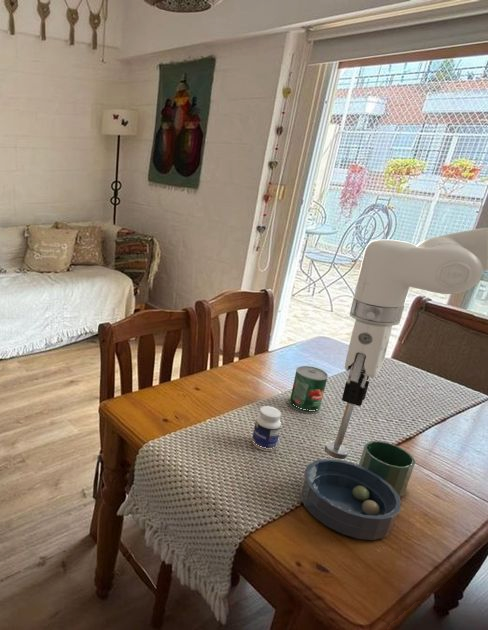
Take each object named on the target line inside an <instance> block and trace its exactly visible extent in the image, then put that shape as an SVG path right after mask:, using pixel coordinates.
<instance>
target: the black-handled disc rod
mask: <svg viewBox="0 0 488 630" xmlns="http://www.w3.org/2000/svg"><path fill="white" fill-rule="evenodd" d="M360 377H362V379H363V376H361V375H360ZM354 407H355V405H354V404H351V403H348V402H346V405H345V409H344V412H343V415H342V417H341V420H340V421H341V422H340V424H339V427H338V431H337V434H336V437H335V441H327V442H326V443H325V445H324V451H325V453H326V454H327V455H328V456H330V457H332V458H333V459H337V460H343V459H346V458H347V456H348V455H349V449H348V448H347V446H346V445H344V444H343V441H344V439H345V435H346V432H347V429H348V426H349V423H350V421H351V417H352V414H353V410H354Z"/></svg>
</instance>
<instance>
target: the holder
mask: <svg viewBox="0 0 488 630" xmlns="http://www.w3.org/2000/svg"><path fill="white" fill-rule="evenodd" d="M358 465H359V466H361V467H364V468H366V469H368V470H370V471H372V472H373V473H375V474H377V475H379V476H380V477H381V478H383V479H384V480H385V481H386V482H388V483H389V484H390V485H391V486H392V487H393V488H394V490H395V491H396V492H397V494H398V495H399V498H402V497H403V496H404V494H405V493H406V490H407V487H408V484H409V481H410V479H411V477H412V473H413V470H414V467H415V465H416V460H415V458H414V457H413V455H412V454H411V453H410V452H409V451H407V450H406V449H404V448H402V447H400V446H399V445H396V444H393V443H390V442H386V441H381V440H370V441H368V442H365V444H364V446H363V449H362V452H361V456H360V459H359V462H358Z"/></svg>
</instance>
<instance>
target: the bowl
mask: <svg viewBox="0 0 488 630" xmlns="http://www.w3.org/2000/svg"><path fill="white" fill-rule="evenodd" d="M356 486H363V487H365V488H367V489H368V491H369V493H370V497H369V499H368V500H372V501H374V502H376V503H377V504H378V505H379V507H380V513H379V514H378V515H377V516H373V515H367V514H366V513H365V512H364V511H363V509H362V504H363V502H364V501H360V500H357V499H356V498H355V497H354V495H353V489H354V487H356ZM299 498H300V500H301V502H302V504H303V506H304V508H305V509H306V510H307V511H308V513H310V514H311V515H312V516H313V517H314V518H315V519H316V520H317V521H319V522H321V524H323V525H324V526H326V527H327V528H330V529H331V530H334V531H335V532H338V533H339V534H342V535H344V536H347V537H352V538H354V539H358V540H367V541H375V540H380V539H385V538H387V537H388V536H389V535H391V534H392V533H393V531H394V528H395V525H396V523H397V521H398V517H399V515H400V510H401V507H402V501H401V499H400V498H401V497H399V495H398V494H397V492H396V491H395V490H394V488H393V487H392V486H391V485H390V484H389V483H388V482H386V481H385V480H384V479H383V478H381V477H380V476H379V475H377V474H375V473H373V472H372V471H370V470H368V469H366V468H364V467H361V466H359V464H356V463H354V462H351V461H350V462H349V461H346V460H343V459H336V458H322V459H315V460H314V461H311V462H310V463H308V464H307V466H306V467H305V469H304V472H303V476H302V480H301V483H300V487H299Z"/></svg>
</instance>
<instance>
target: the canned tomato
mask: <svg viewBox="0 0 488 630" xmlns="http://www.w3.org/2000/svg"><path fill="white" fill-rule="evenodd" d="M328 377H329V375H328V373H327V372H326V371H324V370H323V369H321V368H319V367H315V366H310V365H300V366H298V367H296V370H295V376H294V379H293V384H292V389H291V394H290V398H289V401H288V403H289V405H290V407H291V408H292V409H293V410H295V411H297V412H300V413H303V414H307V415H312V414H317V413H319V412H320V410H321V405H322V402H323V397H324V393H325V389H326V384H327V381H328ZM290 401H291V402H290ZM293 404H294V405H295V406H294V405H293ZM296 406H297V407H296ZM298 407H299V408H298ZM300 408H302V409H300ZM303 409H306V410H303ZM307 409H308V410H307ZM316 409H318V410H316ZM309 410H315V411H309Z"/></svg>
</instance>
